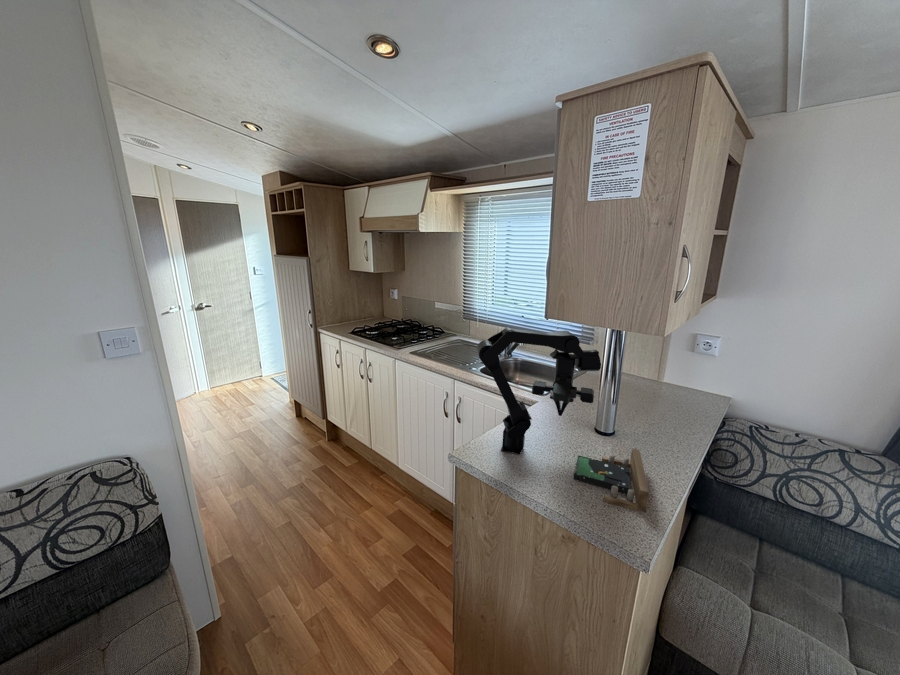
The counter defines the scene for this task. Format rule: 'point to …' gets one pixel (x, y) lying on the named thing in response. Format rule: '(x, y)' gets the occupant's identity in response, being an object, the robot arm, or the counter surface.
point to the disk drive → (602, 474)
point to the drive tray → (637, 480)
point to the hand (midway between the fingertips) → (560, 415)
